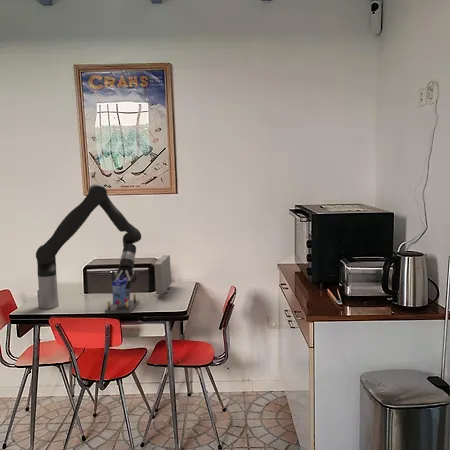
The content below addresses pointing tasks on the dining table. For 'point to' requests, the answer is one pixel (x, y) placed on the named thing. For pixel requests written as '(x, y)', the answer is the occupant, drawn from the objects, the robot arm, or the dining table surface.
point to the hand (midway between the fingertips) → (121, 288)
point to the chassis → (122, 307)
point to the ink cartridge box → (120, 291)
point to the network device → (163, 276)
